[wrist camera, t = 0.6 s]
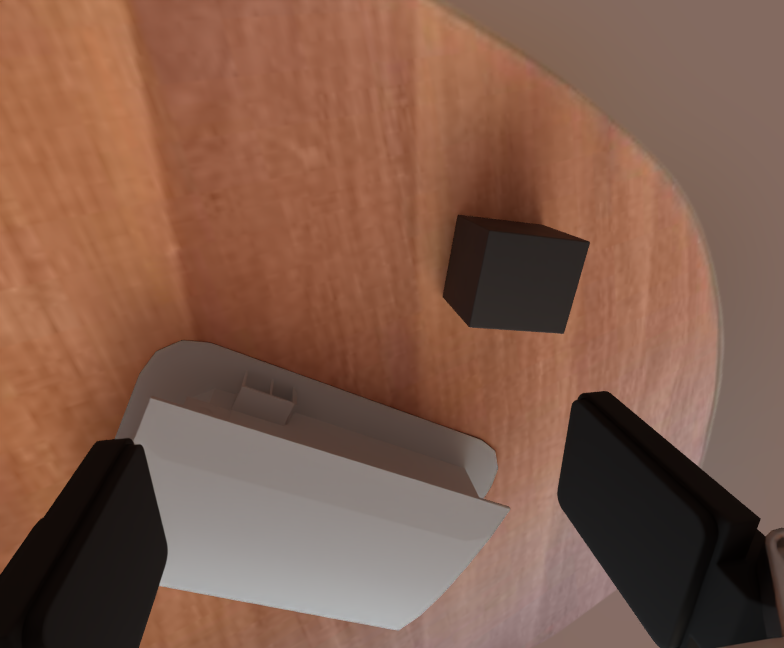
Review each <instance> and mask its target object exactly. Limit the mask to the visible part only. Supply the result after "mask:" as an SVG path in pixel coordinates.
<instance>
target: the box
mask: <svg viewBox="0 0 784 648" xmlns="http://www.w3.org/2000/svg"><path fill="white" fill-rule="evenodd" d="M589 244H590V242H589V241H586V240H583V239H581V238H578V237H575V236H572V235H569V234H567V233H564V232H561V231H558V230H555V229H553V228H550V227H547V226H544V225H539V224H530V223H522V222H514V221H506V220H498V219H489V218H481V217H473V216H465V215H458V216H457V222H456V227H455V232H454V238H453V243H452V249H451V254H450V260H449V265H448V271H447V276H446V281H445V287H444V292H443V298H444V299H445V300H446V301H447V303H448V304H449V305H450V306H451V307H452V308H453V309H454V311H455V312H456V313H457V314H458V315H459V316H460V317H461V318H462V320H463V321H464V322H465V323H466V324H467V325H468V326H469V327H472V328H487V329H501V330H516V331H531V332H546V333H560V334H563V333H564V331H565V328H566V324H567V321H568V317H569V314H570V310H571V307H572V303H573V300H574V296H575V293H576V289H577V286H578V283H579V279H580V276H581V272H582V269H583V265H584V262H585V258H586V255H587V251H588V248H589Z"/></svg>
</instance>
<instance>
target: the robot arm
mask: <svg viewBox="0 0 784 648" xmlns="http://www.w3.org/2000/svg"><path fill="white" fill-rule="evenodd" d="M557 495H558V501H559V504H560V506H561V508H562V510H563V511H564V512H565V514H566V515H567V517H568V518H569V520H570V521H571V523H572V524H573V525H574V527H575V528H576V530H577V531H578V533H579V534H580V536H581V537H582V538H583V540H584V541H585V543H586V544H587V546H588V547H589V548H590V550H591V551H592V553H593V554H594V556H595V557H596V559H597V560H598V561H599V563H600V564H601V566H602V567H603V569H604V570H605V572H606V573H607V574H608V576H609V577H610V579H611V580H612V582H613V583H614V585H615V586H616V587H617V589H618V590H619V592H620V593H621V594H622V596H623V598H624V599H625V600H626V602H627V603H628V605H629V606H630V608H631V609H632V611H633V612H634V613H635V615H636V616H637V618H638V619H639V621H640V622H641V624H642V625H643V626H644V628H645V629H646V631H647V632H648V634H649V635H650V636H651V638H652V639H653V641H654V642H655V643H656V644H657V645H658V646H659V647H660V648H784V528H779V529H776V530H772V531H771V532H770V533H769V534H768V535H767V536H764V535H763V534H762V533H761V532H760V531H759V530H757V527H758V524H759V522H760V518H759V517H758V516H757V515H755V514H754V513H753V512H752V511H751V510H749V509H748V508H747V507H746V506H745V505H743V504H742V503H741V502H740V501H739V500H737V499H736V498H735V497H734V496H733V495H732V494H730V493H729V492H728V491H727V490H726V489H724V488H723V487H722V486H721V485H719V484H718V483H717V482H716V481H715V480H714V479H712V478H711V477H710V476H709V475H708V474H706V473H705V472H704V471H703V470H702V469H700V468H699V467H698V466H697V465H696V464H695V463H693V462H692V461H691V460H690V459H689V458H687V457H686V456H685V455H684V454H683V453H681V452H680V451H679V450H678V449H677V448H675V447H674V446H673V445H672V444H671V443H669V442H668V441H667V440H666V439H665V438H663V437H662V436H661V435H660V434H659V433H657V432H656V431H655V430H654V429H653V428H651V427H650V426H649V425H648V424H647V423H645V422H644V421H643V420H642V419H641V418H639V417H638V416H637V415H636V414H635V413H633V412H632V411H631V410H630V409H629V408H628V407H626V406H625V405H624V404H623V403H622V402H620V401H619V400H618V399H617V398H616V397H614V396H613V395H612V394H611V393H609V392H607V391H601V392H591V393H583V394H581V395H580V396H579V397H578V400H576V401H574V402H573V403H572V407H571V413H570V419H569V425H568V431H567V437H566V443H565V449H564V455H563V461H562V467H561V473H560V479H559V485H558V492H557ZM167 556H168V546H167V540H166V536H165V532H164V528H163V524H162V520H161V516H160V512H159V508H158V504H157V500H156V496H155V492H154V487H153V483H152V479H151V475H150V471H149V467H148V463H147V459H146V455H145V451H144V448H143V446H142V445H141V444H136V445H134V442H133V441H132V439H130V438H123V439H112V440H102V441H97V442H96V443H95V444H94V445H93V447H92V448H91V449H90V451H89V452H88V454H87V455H86V457H85V458H84V460H83V461H82V463H81V464H80V465H79V467H78V468H77V470H76V471H75V473H74V474H73V476H72V477H71V479H70V480H69V481H68V483H67V484H66V486H65V487H64V489H63V490H62V492H61V493H60V495H59V496H58V497H57V499H56V500H55V502H54V503H53V505H52V506H51V508H50V509H49V511H48V512H47V513H46V515H45V516H44V518H42V519H40V520H39V521H38V523H37V524H36V525H35V526H34V527H33V529H32V530H31V532H30V533H29V534H28V536H27V537H26V539H25V540H24V542H23V543H22V544H21V546H20V547H19V549H18V550H17V552H16V553H15V554H14V556H13V557H12V559H11V560H10V562H9V563H8V565H7V566H6V567H5V569H4V570H3V572H2V573H1V575H0V648H139V645H140V642H141V639H142V636H143V633H144V630H145V627H146V624H147V621H148V618H149V615H150V612H151V609H152V605H153V602H154V599H155V596H156V593H157V590H158V587H159V584H160V581H161V578H162V575H163V572H164V569H165V566H166V562H167Z"/></svg>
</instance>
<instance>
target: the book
mask: <svg viewBox="0 0 784 648" xmlns="http://www.w3.org/2000/svg"><path fill="white" fill-rule="evenodd" d="M123 438H130V439H132V441H133V442H134V445H136V444H141V445H142V446H143V448H144V451H145V455H146V459H147V463H148V467H149V471H150V475H151V479H152V483H153V487H154V492H155V496H156V500H157V504H158V508H159V512H160V516H161V520H162V524H163V528H164V532H165V536H166V540H167V546H168V556H167V562H166V566H165V569H164V572H163V575H162V578H161V581H160V584H159V586H163V587H168V588H174V589H179V590H184V591H190V592H195V593H200V594H206V595H211V596H216V597H222V598H227V599H233V600H238V601H243V602H249V603H254V604H259V605H265V606H270V607H275V608H281V609H286V610H291V611H297V612H302V613H307V614H313V615H318V616H323V617H329V618H334V619H339V620H345V621H350V622H355V623H361V624H366V625H371V626H377V627H382V628H387V629H393V630H400V629H401V628H403V627H404V626H406V625H407V624H409V623H410V622H412V621H413V620H414V619H416V618H417V617H419V616H420V615H421V614H422V613H423V612H425V611H426V610H427V609H428V608H429V607H430V606H431V605H432V604H433V603H434V602H435V601H436V600H437V599H438V598H439V597H440V596H441V595H442V594H443V593H444V592H445V591H446V590H447V589H448V588H449V587H450V585H451V584H452V583H453V582H454V581H455V580H456V579H457V577H458V576H459V575H460V574H461V573H462V572H463V571H464V570H465V568H466V567H467V566H468V565H469V564H470V562H471V561H472V560H473V559H474V557H475V556H476V555H477V554H478V552H479V551H480V550H481V549H482V547H483V546H484V545H485V544H486V543H487V541H488V540H489V539H490V538H491V536H492V535H493V534H494V532H495V531H496V529H497V528H498V526H499V525H500V523H501V522H502V521H503V519H504V518H505V516H506V515H507V513H508V512H509V511H510V507H509V506H506V505H502V504H499V503H496V502H493V501H490V500H486V499H483V498H484V497H485V495H486V494H487V492H488V491H489V489H490V488H491V485H492V483H493V480H494V478H495V475H496V473H497V470H498V465H497V459H496V454H495V450H493V449H492V448H491V447H490V446H488V445H487V444H486V443H485V442H483V441H482V440H480V439H478V438H475V437H472V436H469V435H466V434H464V433H461V432H458V431H455V430H452V429H450V428H447V427H444V426H441V425H439V424H436V423H433V422H430V421H427V420H425V419H422V418H419V417H416V416H413V415H411V414H408V413H405V412H402V411H399V410H397V409H394V408H391V407H388V406H386V405H383V404H380V403H377V402H374V401H372V400H369V399H366V398H363V397H360V396H358V395H355V394H352V393H349V392H347V391H344V390H341V389H338V388H335V387H333V386H330V385H327V384H324V383H321V382H319V381H316V380H313V379H310V378H307V377H305V376H302V375H299V374H296V373H294V372H291V371H288V370H285V369H282V368H280V367H277V366H274V365H271V364H268V363H266V362H263V361H260V360H257V359H255V358H252V357H249V356H246V355H243V354H241V353H238V352H235V351H232V350H229V349H227V348H224V347H221V346H218V345H216V344H213V343H209V342H198V341H187V340H181V341H179V342H177V343H174V344H172V345H170V346H167V347H165V348H163V349H161V350H158V351H156V352H155V354H154V355H153V356H152V358H151V359H150V360H149V362H148V363H147V364H146V366H145V367H144V368H143V370H142V371H141V372H140V374H139V376H138V379H137V382H136V384H135V387H134V390H133V392H132V395H131V397H130V400H129V403H128V405H127V408H126V411H125V413H124V416H123V419H122V421H121V424H120V426H119V429H118V432H117V434H116V437H115V439H123Z"/></svg>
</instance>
